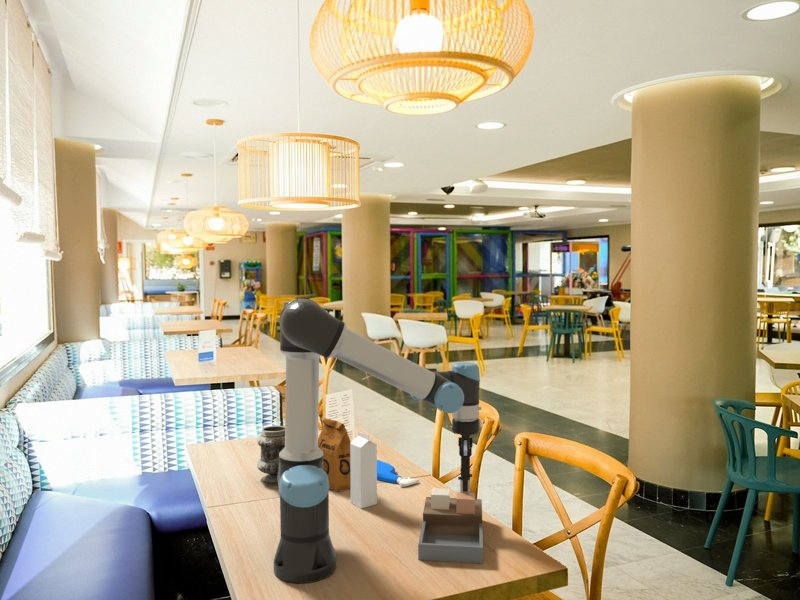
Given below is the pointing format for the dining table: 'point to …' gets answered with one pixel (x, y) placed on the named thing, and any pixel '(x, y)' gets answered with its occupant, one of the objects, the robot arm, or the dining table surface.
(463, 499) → the salmon orange block
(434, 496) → the cream block
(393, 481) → the spray bottle
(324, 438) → the coffee package
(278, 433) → the dark stone vase
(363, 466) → the milk
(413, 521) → the dining table surface
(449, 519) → the block
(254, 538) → the dining table surface
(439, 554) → the box
